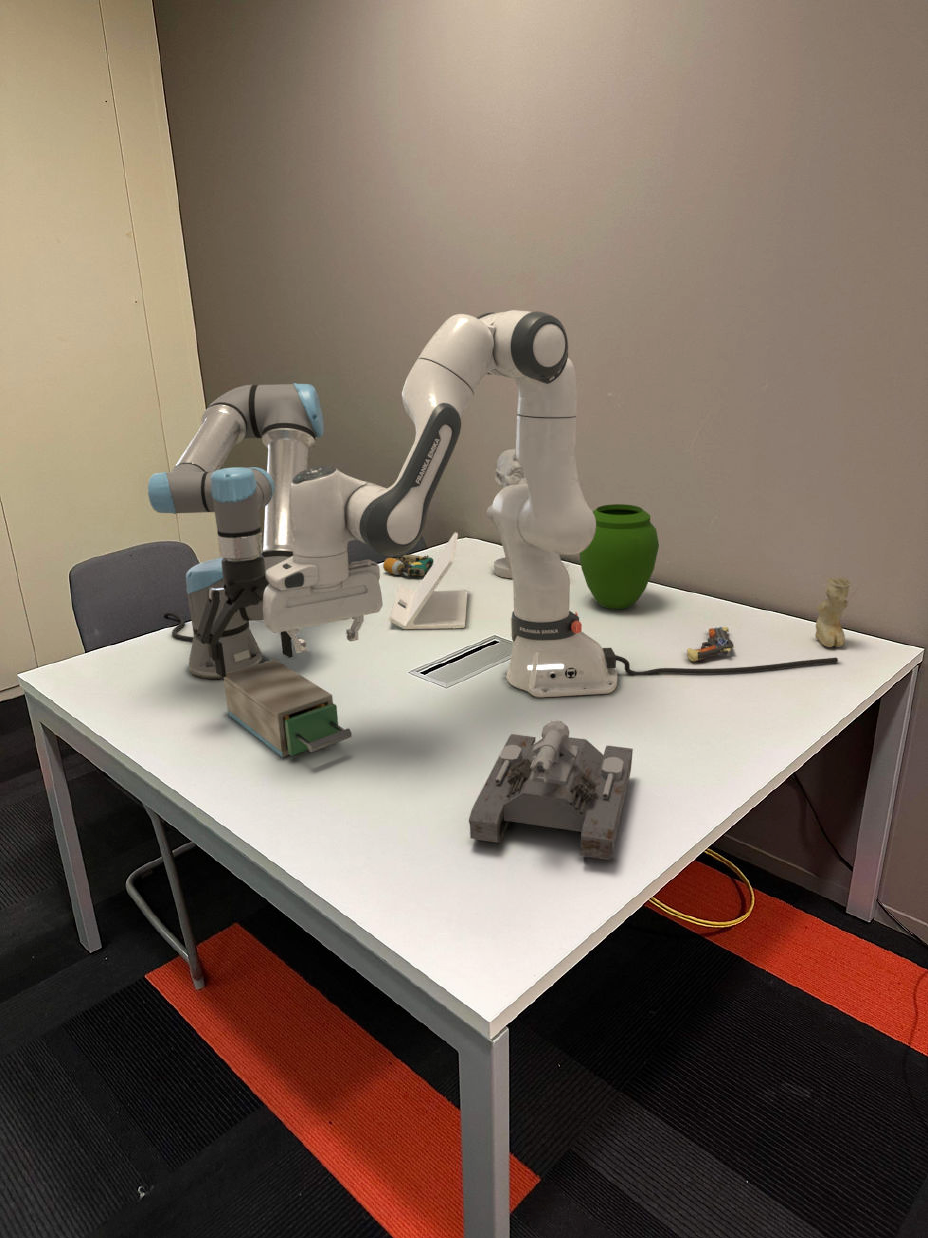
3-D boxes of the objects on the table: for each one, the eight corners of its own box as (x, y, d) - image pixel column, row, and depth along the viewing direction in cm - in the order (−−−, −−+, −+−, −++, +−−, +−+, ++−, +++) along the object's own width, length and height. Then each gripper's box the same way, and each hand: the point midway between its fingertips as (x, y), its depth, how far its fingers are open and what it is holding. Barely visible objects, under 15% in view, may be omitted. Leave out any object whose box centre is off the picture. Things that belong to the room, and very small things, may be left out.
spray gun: (402, 561, 257) (447, 568, 251) (374, 574, 242) (420, 581, 236) (402, 547, 255) (447, 554, 250) (374, 559, 241) (421, 566, 235)
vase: (599, 587, 227) (601, 497, 218) (668, 600, 216) (673, 505, 208) (562, 608, 212) (564, 513, 204) (634, 623, 202) (639, 523, 193)
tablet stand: (467, 593, 225) (465, 531, 219) (465, 628, 202) (462, 559, 196) (399, 594, 226) (395, 532, 220) (388, 629, 203) (384, 560, 197)
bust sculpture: (503, 593, 225) (502, 460, 212) (483, 567, 247) (480, 445, 234) (562, 587, 228) (563, 456, 215) (536, 562, 250) (536, 441, 237)
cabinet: (336, 737, 154) (332, 694, 151) (282, 757, 147) (277, 713, 144) (279, 698, 169) (274, 658, 166) (228, 714, 163) (222, 674, 160)
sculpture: (821, 649, 184) (830, 583, 179) (808, 637, 191) (816, 573, 185) (848, 649, 184) (858, 582, 179) (834, 636, 191) (843, 572, 185)
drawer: (358, 750, 147) (355, 717, 145) (309, 770, 141) (305, 735, 139) (284, 700, 166) (281, 669, 164) (239, 715, 161) (234, 684, 158)
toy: (511, 760, 144) (510, 679, 139) (631, 775, 138) (635, 691, 133) (469, 848, 121) (466, 755, 116) (610, 870, 116) (614, 774, 110)
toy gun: (688, 652, 178) (737, 649, 176) (682, 625, 196) (728, 622, 194) (688, 664, 179) (738, 661, 177) (683, 637, 197) (728, 634, 195)
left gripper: (294, 539, 163) (304, 642, 170) (166, 565, 148) (183, 677, 156) (313, 546, 157) (323, 653, 165) (183, 574, 143) (200, 690, 150)
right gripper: (370, 553, 148) (374, 628, 152) (255, 572, 138) (263, 651, 143) (386, 562, 143) (390, 639, 147) (268, 582, 133) (276, 664, 138)
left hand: (255, 665), depth 160 cm, fingers open, 13 cm apart
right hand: (327, 645), depth 145 cm, fingers open, 8 cm apart
